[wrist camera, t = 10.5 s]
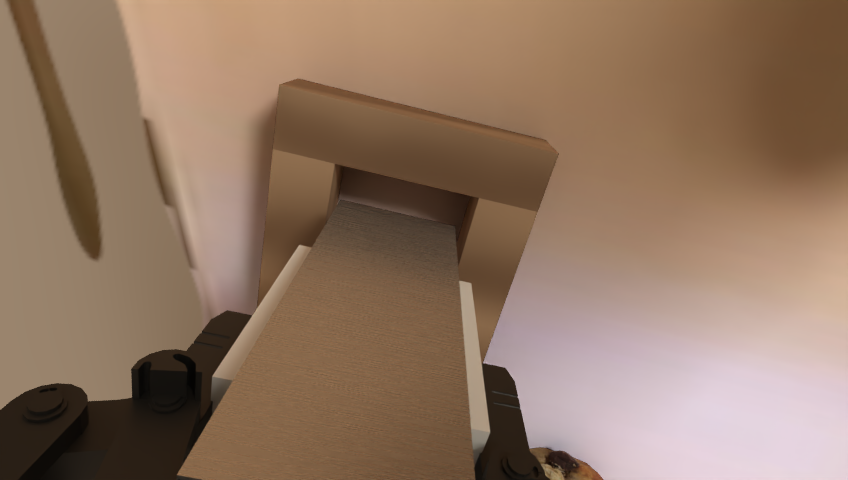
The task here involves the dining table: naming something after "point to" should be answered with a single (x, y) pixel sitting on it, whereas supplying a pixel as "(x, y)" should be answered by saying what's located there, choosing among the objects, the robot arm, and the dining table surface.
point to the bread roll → (563, 465)
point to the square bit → (353, 365)
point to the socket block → (411, 161)
